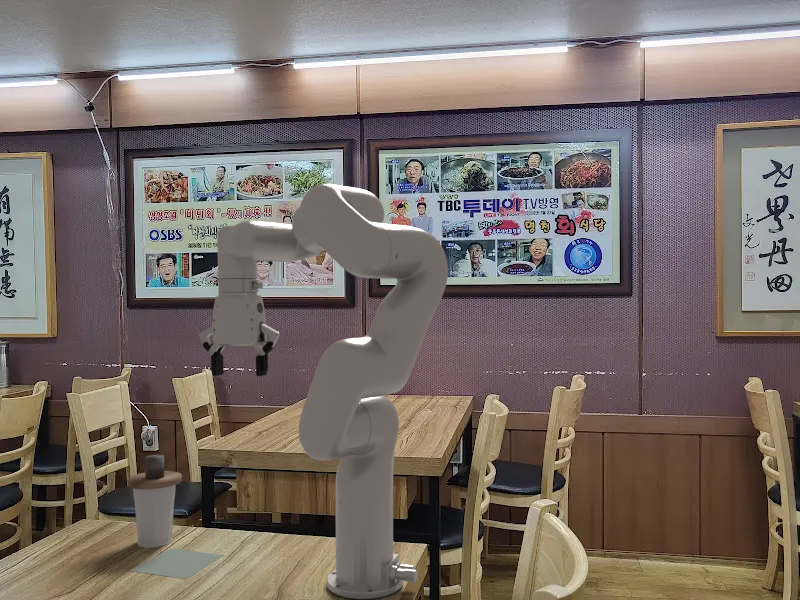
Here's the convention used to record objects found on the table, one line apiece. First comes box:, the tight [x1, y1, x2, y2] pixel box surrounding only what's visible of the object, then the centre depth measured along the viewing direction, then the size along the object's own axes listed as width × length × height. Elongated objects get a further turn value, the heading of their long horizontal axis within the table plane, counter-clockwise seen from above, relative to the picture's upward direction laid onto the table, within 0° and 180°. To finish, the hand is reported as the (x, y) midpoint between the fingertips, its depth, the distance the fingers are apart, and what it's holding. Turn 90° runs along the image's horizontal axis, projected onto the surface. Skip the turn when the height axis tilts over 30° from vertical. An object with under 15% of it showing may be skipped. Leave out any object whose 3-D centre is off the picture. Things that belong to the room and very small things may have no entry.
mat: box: [129, 548, 224, 580], centre depth 126 cm, size 12×12×1 cm
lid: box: [126, 454, 183, 489], centre depth 137 cm, size 10×10×5 cm
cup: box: [132, 484, 177, 549], centre depth 137 cm, size 8×8×12 cm
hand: (239, 375), depth 139 cm, fingers open, 9 cm apart
